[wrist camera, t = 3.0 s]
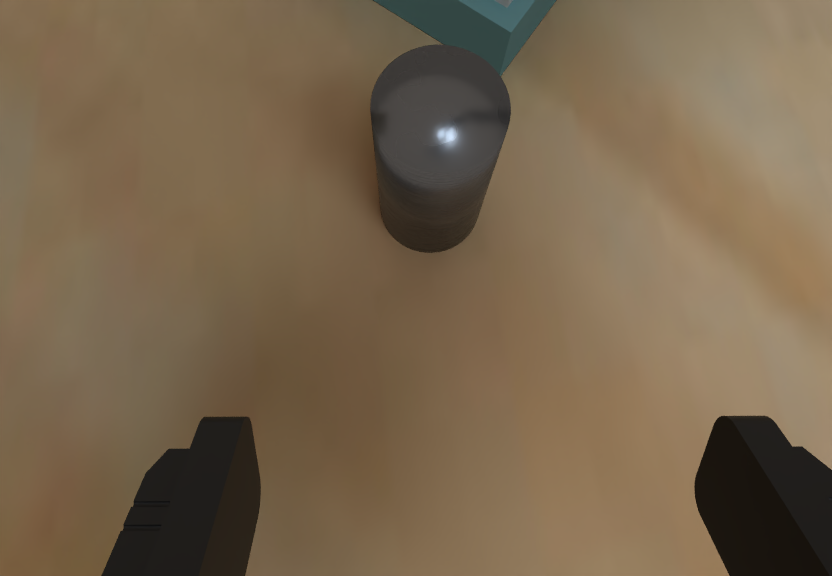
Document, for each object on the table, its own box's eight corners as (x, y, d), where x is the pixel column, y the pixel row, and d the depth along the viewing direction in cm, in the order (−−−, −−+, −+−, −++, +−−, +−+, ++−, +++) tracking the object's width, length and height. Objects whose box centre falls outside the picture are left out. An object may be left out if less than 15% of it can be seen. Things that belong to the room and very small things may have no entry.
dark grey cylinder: (497, 193, 33) (537, 92, 23) (442, 271, 32) (459, 199, 22) (416, 141, 34) (422, 20, 24) (360, 216, 33) (342, 122, 23)
